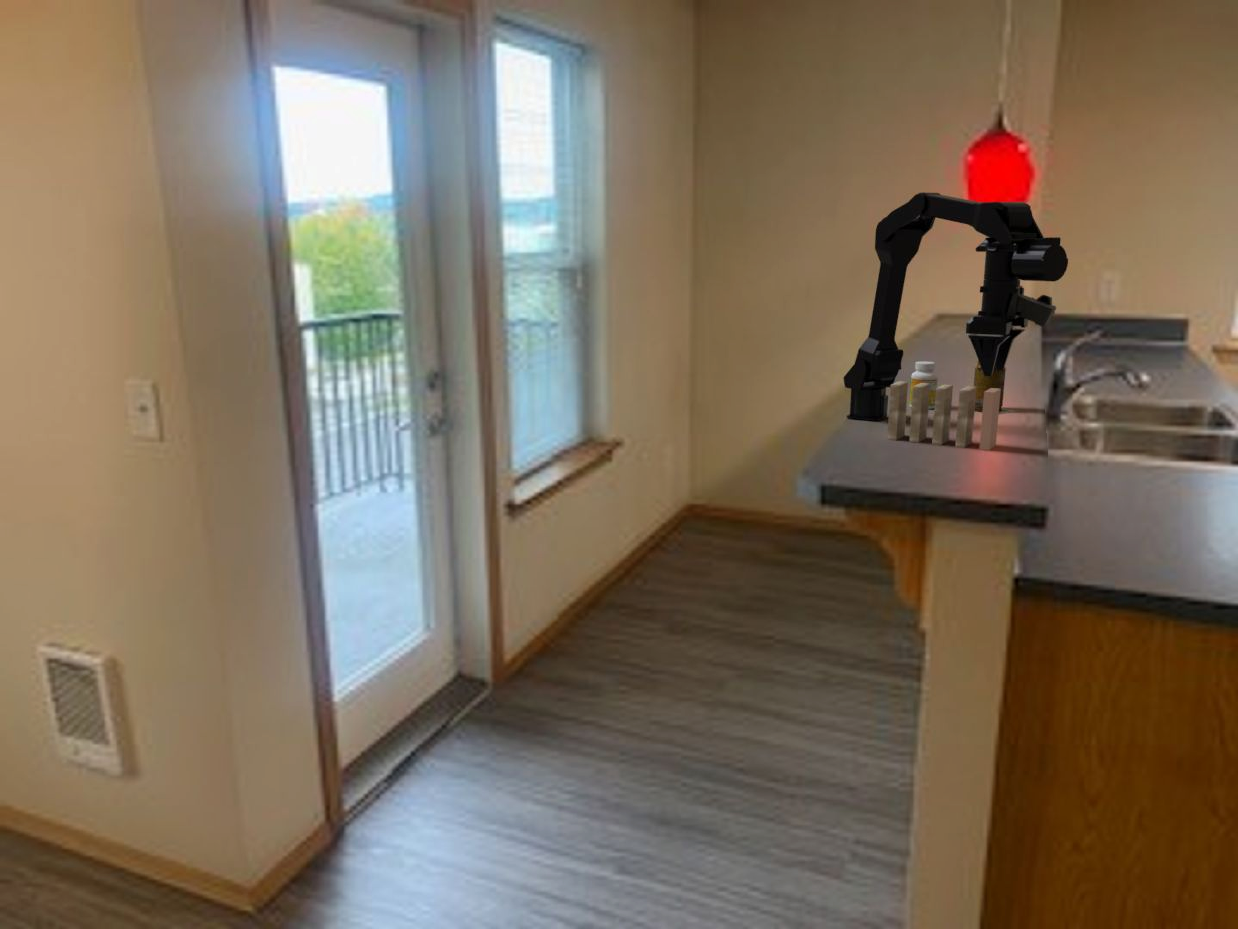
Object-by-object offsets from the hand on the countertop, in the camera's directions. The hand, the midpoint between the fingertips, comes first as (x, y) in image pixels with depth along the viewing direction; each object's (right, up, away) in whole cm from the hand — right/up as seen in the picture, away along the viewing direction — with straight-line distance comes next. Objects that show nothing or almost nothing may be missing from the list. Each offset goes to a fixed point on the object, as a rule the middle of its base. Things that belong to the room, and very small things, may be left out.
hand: (994, 373), depth 157 cm
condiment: (+15, -4, +38) cm, 41 cm away
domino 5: (0, -13, +3) cm, 13 cm away
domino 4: (-3, -12, +5) cm, 14 cm away
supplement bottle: (+2, -3, +42) cm, 42 cm away
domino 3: (-7, -12, +7) cm, 15 cm away
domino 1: (-13, -11, +12) cm, 21 cm away
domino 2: (-10, -11, +10) cm, 18 cm away
